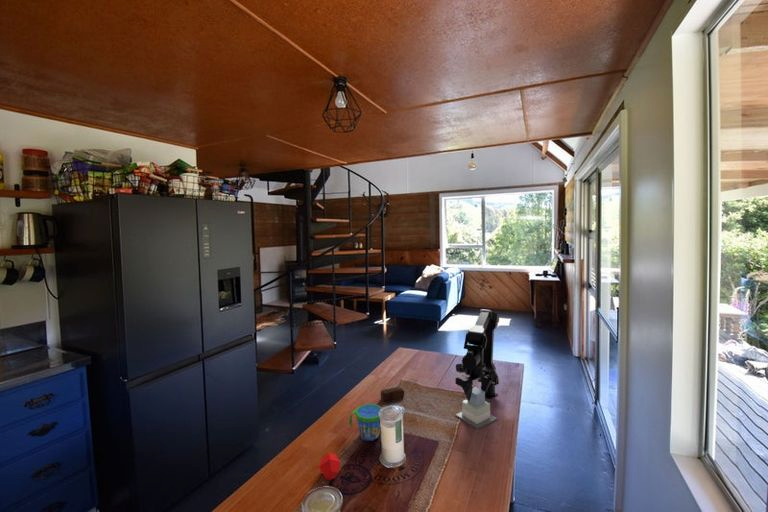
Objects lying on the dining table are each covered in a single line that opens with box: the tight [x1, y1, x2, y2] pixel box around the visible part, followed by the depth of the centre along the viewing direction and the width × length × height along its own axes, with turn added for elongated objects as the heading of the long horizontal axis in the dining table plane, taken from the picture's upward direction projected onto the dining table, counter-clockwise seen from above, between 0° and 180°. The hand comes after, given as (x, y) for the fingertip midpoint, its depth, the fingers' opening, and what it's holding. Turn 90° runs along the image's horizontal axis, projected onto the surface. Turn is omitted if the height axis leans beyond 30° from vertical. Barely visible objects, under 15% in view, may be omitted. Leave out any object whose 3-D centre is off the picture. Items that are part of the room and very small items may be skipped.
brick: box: [380, 386, 405, 403], centre depth 154 cm, size 11×4×5 cm, turn 115°
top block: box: [467, 386, 486, 407], centre depth 137 cm, size 5×5×5 cm
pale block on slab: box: [454, 398, 498, 430], centre depth 137 cm, size 12×12×7 cm
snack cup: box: [349, 403, 382, 442], centre depth 126 cm, size 16×10×10 cm
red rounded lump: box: [318, 451, 341, 481], centre depth 107 cm, size 7×7×8 cm
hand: (475, 397), depth 137 cm, fingers open, 9 cm apart
